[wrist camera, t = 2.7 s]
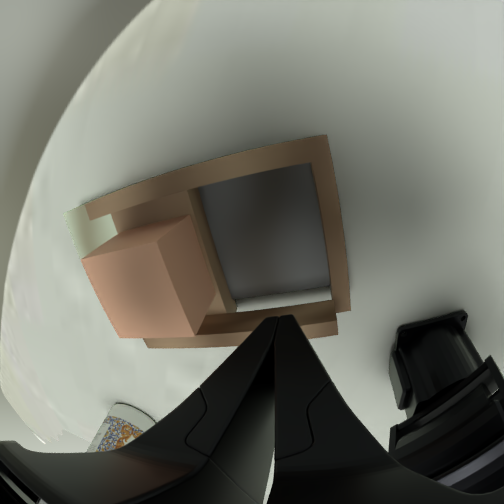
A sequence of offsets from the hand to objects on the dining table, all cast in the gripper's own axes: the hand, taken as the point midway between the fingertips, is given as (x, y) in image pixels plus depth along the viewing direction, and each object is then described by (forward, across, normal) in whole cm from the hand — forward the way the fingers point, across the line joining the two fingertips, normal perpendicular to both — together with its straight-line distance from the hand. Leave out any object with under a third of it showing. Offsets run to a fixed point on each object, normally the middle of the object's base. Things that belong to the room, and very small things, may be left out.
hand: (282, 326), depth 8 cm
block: (+7, +7, 0) cm, 10 cm away
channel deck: (+9, +6, 0) cm, 11 cm away
